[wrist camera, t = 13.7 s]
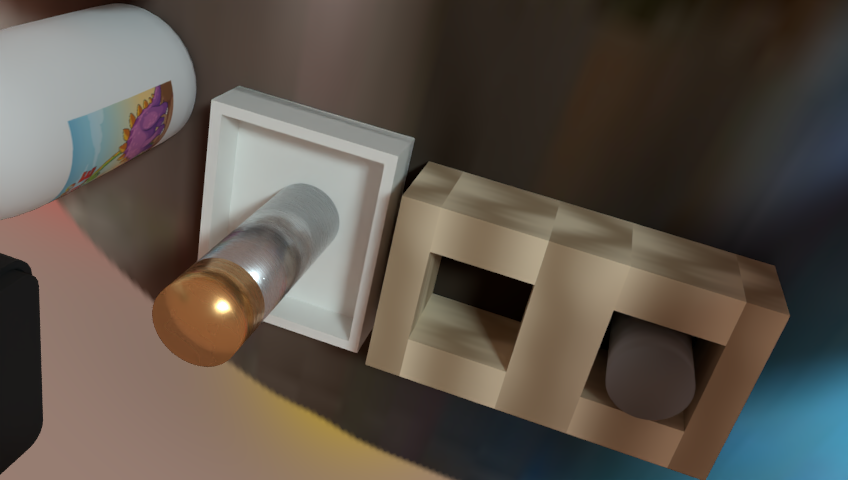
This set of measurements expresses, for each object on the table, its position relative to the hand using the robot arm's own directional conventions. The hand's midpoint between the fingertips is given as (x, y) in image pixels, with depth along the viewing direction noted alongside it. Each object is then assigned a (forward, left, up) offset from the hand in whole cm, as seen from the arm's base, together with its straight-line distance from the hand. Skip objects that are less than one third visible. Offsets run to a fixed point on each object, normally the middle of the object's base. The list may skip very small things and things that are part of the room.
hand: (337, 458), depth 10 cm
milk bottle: (+22, +8, -30) cm, 38 cm away
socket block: (-4, +13, -30) cm, 33 cm away
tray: (+11, +13, -30) cm, 34 cm away
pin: (+11, +13, -29) cm, 34 cm away
